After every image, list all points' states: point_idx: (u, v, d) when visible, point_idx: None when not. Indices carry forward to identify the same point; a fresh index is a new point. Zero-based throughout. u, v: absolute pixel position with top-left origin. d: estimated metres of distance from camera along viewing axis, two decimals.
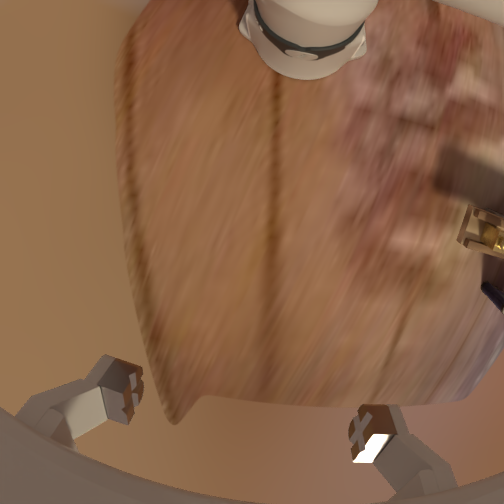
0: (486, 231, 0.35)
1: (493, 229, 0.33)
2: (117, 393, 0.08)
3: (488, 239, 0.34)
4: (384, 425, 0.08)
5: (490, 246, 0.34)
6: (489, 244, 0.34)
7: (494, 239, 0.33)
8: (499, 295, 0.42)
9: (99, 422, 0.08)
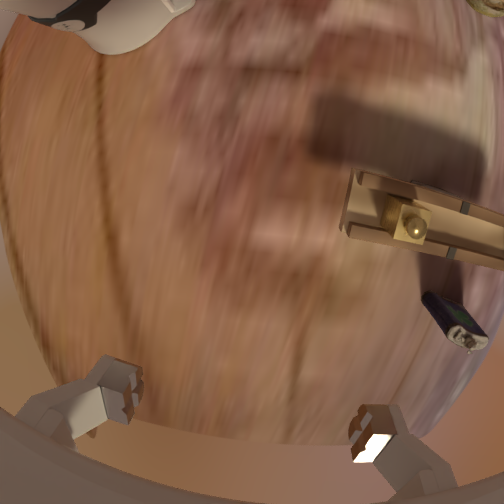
0: (387, 208, 0.25)
1: (395, 203, 0.23)
2: (117, 393, 0.08)
3: (389, 221, 0.24)
4: (384, 425, 0.08)
5: (390, 232, 0.24)
6: (389, 229, 0.24)
7: (396, 218, 0.23)
8: (445, 312, 0.32)
9: (99, 422, 0.08)
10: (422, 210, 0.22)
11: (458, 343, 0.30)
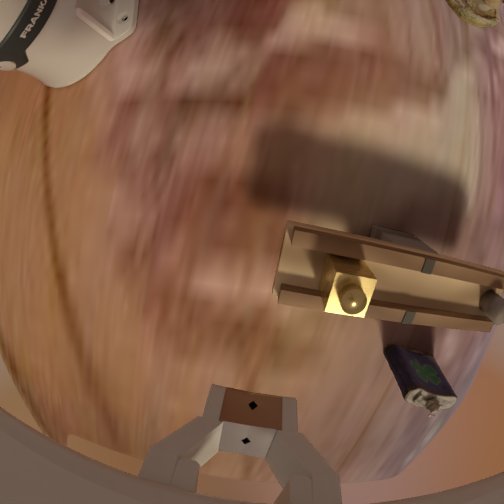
0: (325, 270, 0.23)
1: (331, 267, 0.21)
2: (242, 425, 0.08)
3: (324, 287, 0.22)
4: (268, 417, 0.08)
5: (324, 302, 0.21)
6: (324, 297, 0.21)
7: (329, 287, 0.20)
8: (406, 371, 0.29)
9: (211, 456, 0.08)
10: (363, 279, 0.19)
11: (419, 405, 0.27)
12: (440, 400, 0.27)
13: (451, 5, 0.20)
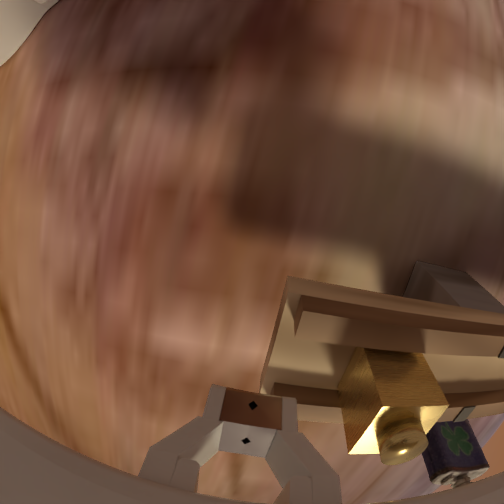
0: (354, 372, 0.11)
1: (370, 382, 0.10)
2: (242, 425, 0.08)
3: (351, 405, 0.11)
4: (268, 417, 0.08)
5: (348, 434, 0.10)
6: (348, 424, 0.10)
7: (363, 420, 0.09)
8: (436, 446, 0.18)
9: (211, 456, 0.08)
10: (427, 408, 0.08)
11: (446, 483, 0.16)
12: (470, 473, 0.16)
13: None
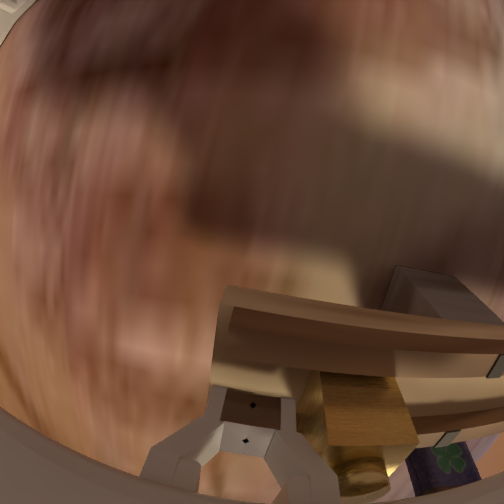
0: (309, 397, 0.10)
1: (321, 413, 0.08)
2: (243, 425, 0.08)
3: (305, 434, 0.09)
4: (267, 417, 0.08)
5: None
6: None
7: None
8: (424, 465, 0.17)
9: (212, 456, 0.08)
10: (390, 447, 0.07)
11: None
12: None
13: None
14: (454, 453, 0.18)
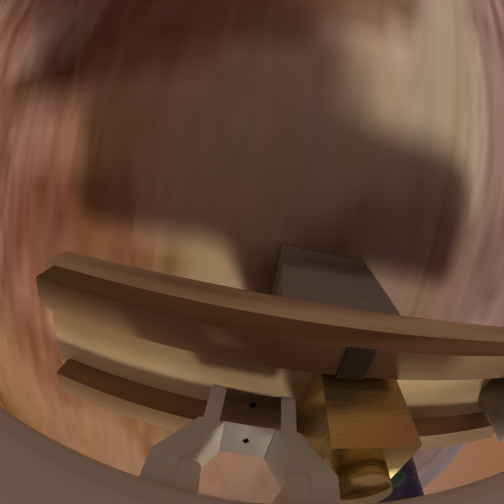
0: (311, 400, 0.10)
1: (323, 416, 0.08)
2: (243, 425, 0.08)
3: (306, 437, 0.09)
4: (267, 417, 0.08)
5: None
6: None
7: None
8: None
9: (212, 456, 0.08)
10: (392, 449, 0.07)
11: None
12: None
13: None
14: None
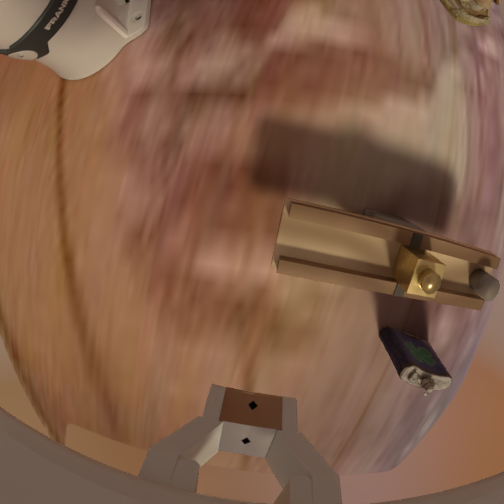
0: (400, 260, 0.24)
1: (410, 256, 0.23)
2: (242, 425, 0.08)
3: (402, 273, 0.24)
4: (268, 417, 0.08)
5: (404, 285, 0.23)
6: (403, 282, 0.23)
7: (410, 272, 0.22)
8: (400, 350, 0.31)
9: (211, 456, 0.08)
10: (437, 264, 0.21)
11: (414, 384, 0.29)
12: (435, 380, 0.29)
13: (447, 8, 0.22)
14: (425, 354, 0.33)
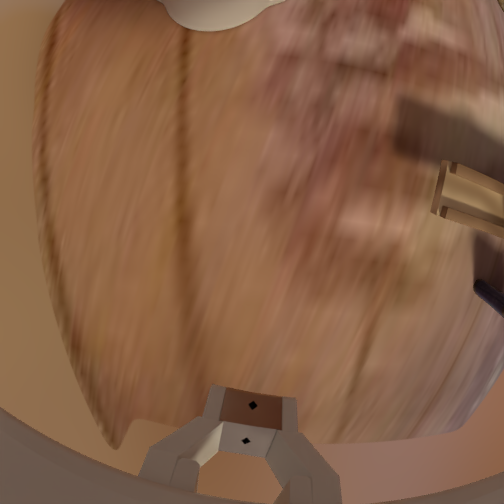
0: None
1: None
2: (242, 425, 0.08)
3: None
4: (268, 417, 0.08)
5: None
6: None
7: None
8: (498, 294, 0.32)
9: (211, 456, 0.08)
10: None
11: None
12: None
13: None
14: None
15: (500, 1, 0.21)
